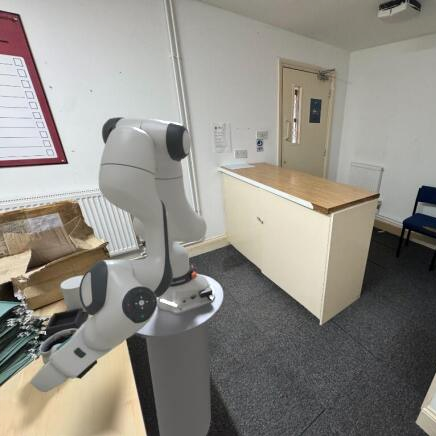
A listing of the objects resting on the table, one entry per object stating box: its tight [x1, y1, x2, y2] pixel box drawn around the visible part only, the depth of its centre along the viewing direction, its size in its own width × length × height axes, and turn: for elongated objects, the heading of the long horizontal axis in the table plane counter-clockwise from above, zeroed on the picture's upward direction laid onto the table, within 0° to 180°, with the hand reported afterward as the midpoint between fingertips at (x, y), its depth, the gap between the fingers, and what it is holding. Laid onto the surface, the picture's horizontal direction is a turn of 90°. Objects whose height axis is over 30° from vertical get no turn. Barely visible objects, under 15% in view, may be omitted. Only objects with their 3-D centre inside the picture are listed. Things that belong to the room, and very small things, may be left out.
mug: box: [38, 329, 78, 365], centre depth 69 cm, size 10×12×10 cm
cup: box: [59, 275, 87, 312], centre depth 89 cm, size 8×8×12 cm
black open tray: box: [41, 308, 90, 342], centre depth 82 cm, size 10×9×4 cm
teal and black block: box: [56, 336, 98, 380], centre depth 58 cm, size 4×4×9 cm
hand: (75, 354), depth 58 cm, fingers closed on teal and black block, 4 cm apart
